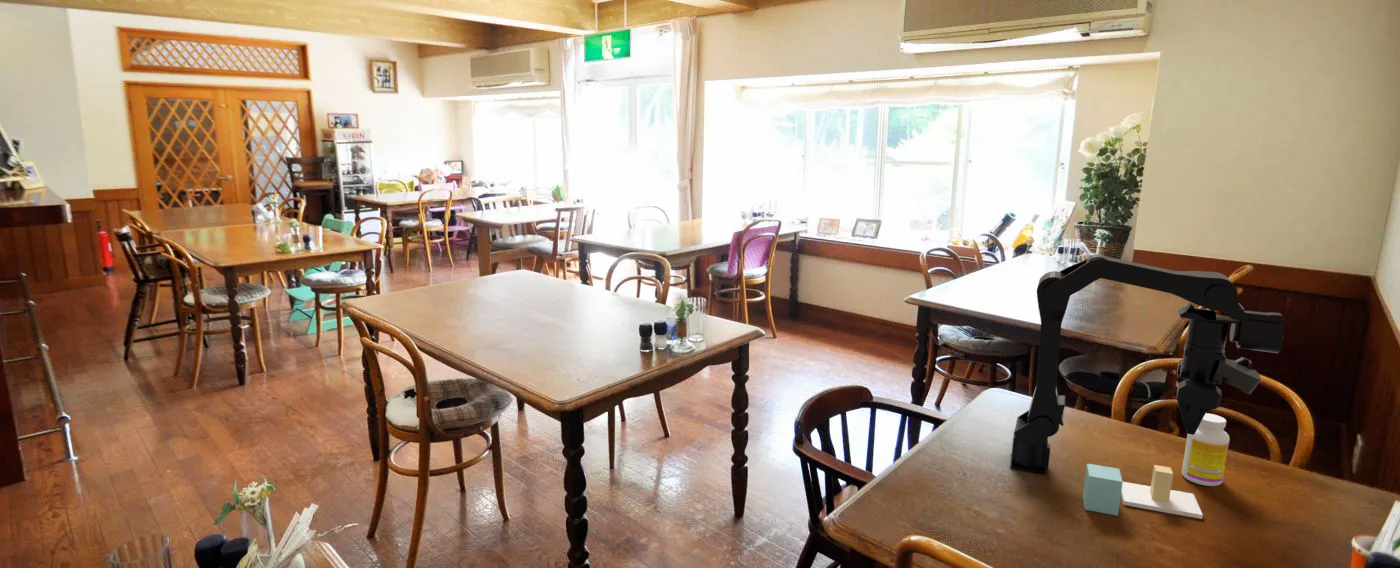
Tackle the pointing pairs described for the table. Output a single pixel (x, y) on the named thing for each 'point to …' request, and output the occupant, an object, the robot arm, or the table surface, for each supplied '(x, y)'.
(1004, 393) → the table surface
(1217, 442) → the supplement bottle
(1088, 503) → the teal rectangular block
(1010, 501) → the table surface
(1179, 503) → the post stand
